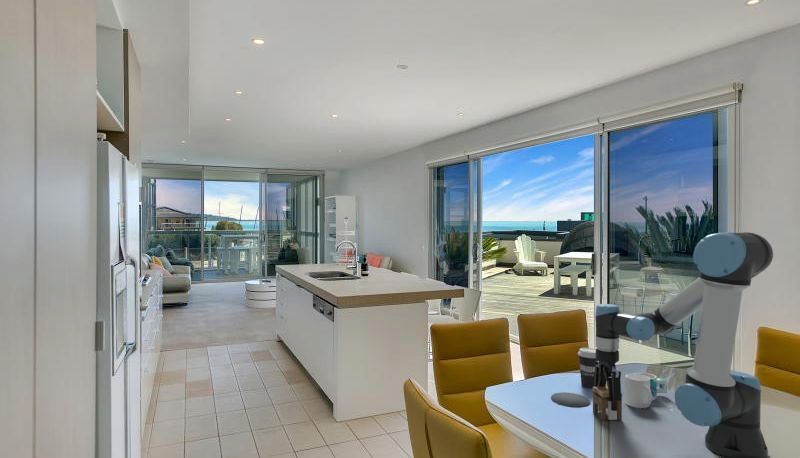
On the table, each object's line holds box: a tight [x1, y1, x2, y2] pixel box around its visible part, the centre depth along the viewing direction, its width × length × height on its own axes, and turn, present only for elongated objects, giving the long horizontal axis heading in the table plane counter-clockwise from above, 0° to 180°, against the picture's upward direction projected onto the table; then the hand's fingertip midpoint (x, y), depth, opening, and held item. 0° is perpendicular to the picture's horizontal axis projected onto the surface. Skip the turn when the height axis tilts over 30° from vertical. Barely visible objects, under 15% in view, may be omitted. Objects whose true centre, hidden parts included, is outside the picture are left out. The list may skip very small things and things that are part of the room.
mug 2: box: [633, 371, 668, 401], centre depth 184 cm, size 8×12×8 cm
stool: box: [592, 386, 623, 421], centre depth 164 cm, size 7×7×9 cm
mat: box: [550, 392, 591, 408], centre depth 180 cm, size 14×14×1 cm
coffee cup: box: [577, 347, 599, 390], centre depth 196 cm, size 10×10×15 cm
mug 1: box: [624, 373, 653, 409], centre depth 173 cm, size 12×8×10 cm
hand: (607, 414), depth 164 cm, fingers closed on stool, 7 cm apart
